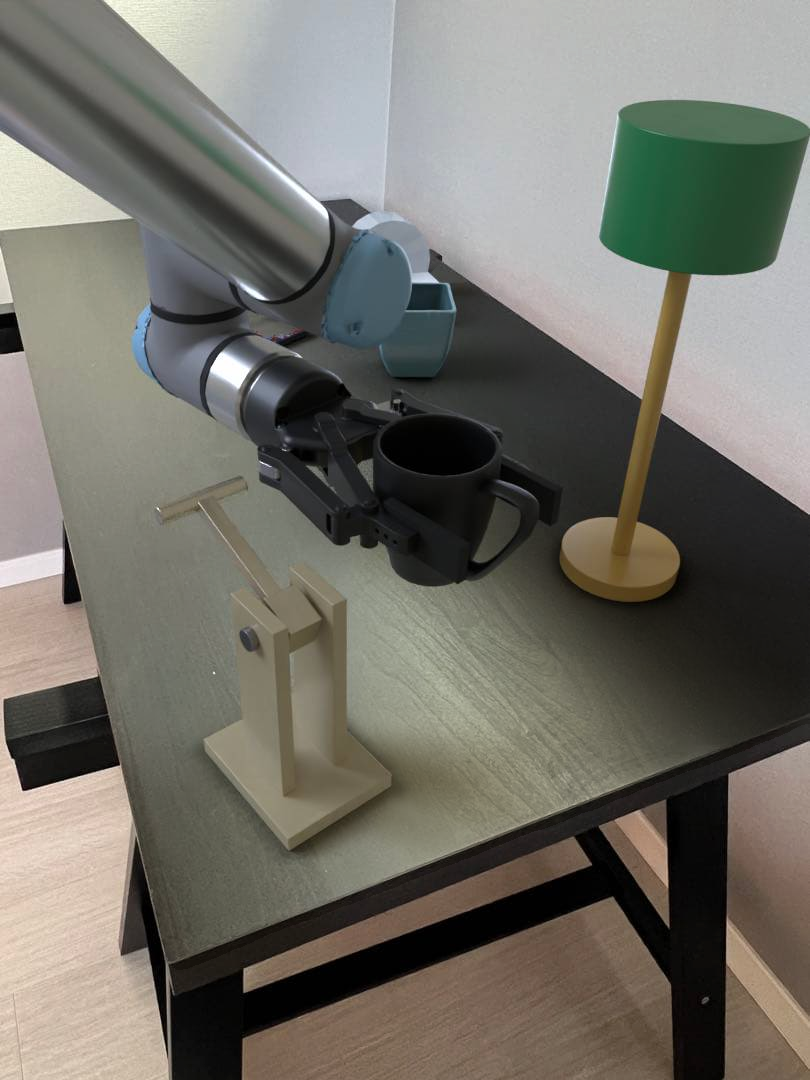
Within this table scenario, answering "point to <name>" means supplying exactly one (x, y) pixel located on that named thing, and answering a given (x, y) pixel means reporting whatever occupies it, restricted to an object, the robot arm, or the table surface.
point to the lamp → (680, 279)
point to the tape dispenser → (401, 240)
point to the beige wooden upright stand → (295, 719)
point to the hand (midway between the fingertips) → (511, 534)
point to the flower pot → (421, 332)
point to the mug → (447, 486)
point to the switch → (246, 558)
